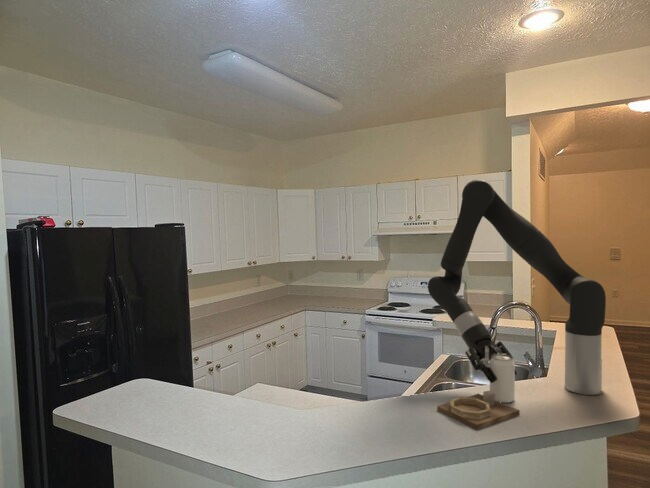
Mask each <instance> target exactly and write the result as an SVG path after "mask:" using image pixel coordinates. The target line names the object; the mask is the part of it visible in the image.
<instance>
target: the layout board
mask: <svg viewBox="0 0 650 488" xmlns="http://www.w3.org/2000/svg"><path fill="white" fill-rule="evenodd" d="M482 393H483V394H480V393H475V394H473V395H470V396H460V397H456V398H453V399H450V400H449V402H446V403H442V404H439V405H437V406H436V409H437V412H440V413H442V414H445V415H447V416H448V417H450V418H452V419H454V420H456V421H458V422H460V423H462V424H465V425H466V426H468V427H471V428H473V429H475V430H478V431H479V430H480V429H483V428H486V427H489V426H491V425H494V424H495V425H496V424H497V423H501V422H504V421H506V420H509V419H511V418H514V417H517V416H520V409H518V408H516V407H513V406H510V405H508V404H506V403H500V402H498V401H495V393H494V392H491V391H490V390H485V391H483V392H482Z"/></svg>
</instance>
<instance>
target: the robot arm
mask: <svg viewBox="0 0 650 488" xmlns="http://www.w3.org/2000/svg"><path fill="white" fill-rule="evenodd" d="M461 198H462V199H461V204H460V211H459V214H458V217H457V221H456V223H455V226H454V229H453V231H452V234H451V235H450V237H449V240H448V242H447V244H446V248H445V250H444V252H443V254H442V257H441V261H440V266H441V269H443V270H444V271H445V272H444V276H438V275H437V276H434V277H433V276H432V277H431V278H430V279H429V280H428V282H427V290H428V294H429V296H431V298H432V299H433V300H434V301H435V303H437V305H438V306H440V307H441V309H442V310H444V311H445V312H446V313H447V315H448V317H449V318H450V319H451V321H452V323H453V324H454V326H455V328H456V330H457V332H458V334H459V335H460V337H461V338H462V340H463V342H464V343H465V344H466V346H467V347H468V349H467V350H466V351H465V355H466V357H467V358H468V360H469V363H470V364H471V365H472V367H473V369H474V370H475V371H478V370H479V371H481V372H483V374H484V376H485V377H486V379H487V380H488V381H489V383H490V382H491V383H493V382H495V381H496V380H497V377H496V376H495V374H494V373H493V371H492V370H491V368H490V366H489V361H490V360H491V358H492V355H494V354H504V355H509V356H511V357H513V356H512V354H511V353H510V351H509V350H508V349H507V347H506V346H505V345H504V344H503V342H502V341H501V340H499V341H498V342H496V343H495V342H493V341H492V335H491V333H490V331H488V329H487V328H486V326H485V325H484V323H483V321H482V320H481V318H480V317H479V316H478V315H477V313H476V312H474V310H473V309H472V307H471V305H470V304H469V303H468V302H467V301H466V300H465V299H464V298H463V297H460V296H458V295H457V294H459V292H460V289H461V286H462V277H463V269H464V266H465V263H466V262H467V261H466V260H467V258H468V256H469V254H470V253H469V252H470V250H471V247H472V244H473V240H474V237H475V235H476V232H477V230H478V227H479V225H480V223H481V221H482V218H484V219H486V220H487V221H488V222H489V223H490V224H491V225H492V226H493V227H494V229H495V230H496V232H498V234H499V236H500V237H501V238H502V239H503V240H504V242H506V244H507V245H508V246H509V247H510V248H511V249H512V250H513V251H514V252H515V253H516V254H517V255H518V256H519V257H520V258H521V259H523V260H524V261H525V262H526V263H527V264H528V265H529V266H530V267H532V268H533V269H534V270H535V271H536V272H538V273H539V274H540V275H542V276H543V277H544V278H546V280H547V281H548V282H549V283H550V284H551V285H552V287H553V288H554V289H555V290H556V291H557V292H558V293H559V295H560V296H561V297H562V299H563V300H564V301H565V302H566V303H568V304H569V317H568V319H567V320H566V321H565V323H564V324H565V325H564V326H565V327H564V329H565V330H564V346H565V347H564V388H565V389H566V390H567V391H569V392H572V393H575V394H578V395H579V394H580V395H584V396H585V395H586V396H598V395H600V394H601V393H602V389H603V388H602V383H603V382H602V381H603V380H602V379H603V376H602V375H603V367H602V364H603V362H602V361H603V360H602V346H603V345H602V338H603V337H602V331H603V327H604V325H605V321H606V307H607V306H606V303H607V298H606V291H605V289H604V287H603V285H602V284H600V283H599V282H598V281H596V280H594V279H590V278H587V277H585V276H583V275H581V274H580V273H579V272H577V270H575V269H574V268H572V267H571V266H570V265H569V264H568V263H567V262H566V261H565V260H564V259H563V258H562V256H561V254H560V253H559V252H558V250H557V249H556V247H555V246H554V244H553V243H552V242H551V240H550V239H549V238H548V237H547V236H546V235H545V234H544V233H542V231H541V230H539V229H538V228H537V227H536V226H535V225H534V224H532V222H530V221H529V220H528V219H527V218H525V217H524V216H523V215H521V214H520V213H518V212H517V211H515V210H514V209H513V208H511V207H510V206H509V205H508V204H507V203H506V202H505V201H504V200H503V198H502V197H501V196H500V194H498V193H497V191H496V190H495V189H494V188H493V186H492V185H491V184H490V183H489V182H488V181H486V180H484V179H481V178H480V179H479V178H478V179H472V180H471V181H469V182H468V183H466V184H465V186H464V187H463V190H462V193H461ZM517 375H518V374H517V370H516V369H515V376H517Z"/></svg>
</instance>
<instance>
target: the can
mask: <svg viewBox="0 0 650 488" xmlns="http://www.w3.org/2000/svg"><path fill="white" fill-rule="evenodd" d="M489 361H490V362H489V367H490V368H491V370H492V371H493V373H494V374H495V376H496V377H497V380H496V381H495V382H493V383H491V382H490V381H489V391H491V392H494V393H495V401H498V402H501V403H503V404H510V402H511V403H513V402H514V401H515V396H516V393H515V391H516V390H515V389H516V388H515V387H516V386H515V385H516V383H515V382H516V379H515V378H516V377H515V376H516V375H515V370H516V368H515V366H516V365H515V362H514V357H513V356H512V357H511V356H509V355H506V354H494V355H492V358H491V360H489Z"/></svg>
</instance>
